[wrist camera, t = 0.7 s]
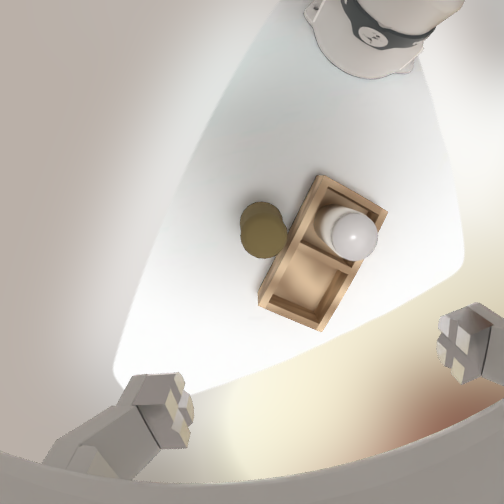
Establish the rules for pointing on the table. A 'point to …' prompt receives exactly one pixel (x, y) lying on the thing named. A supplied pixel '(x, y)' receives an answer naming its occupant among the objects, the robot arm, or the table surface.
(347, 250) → the salt shaker
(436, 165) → the table surface
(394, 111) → the table surface
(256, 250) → the cork
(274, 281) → the caddy
